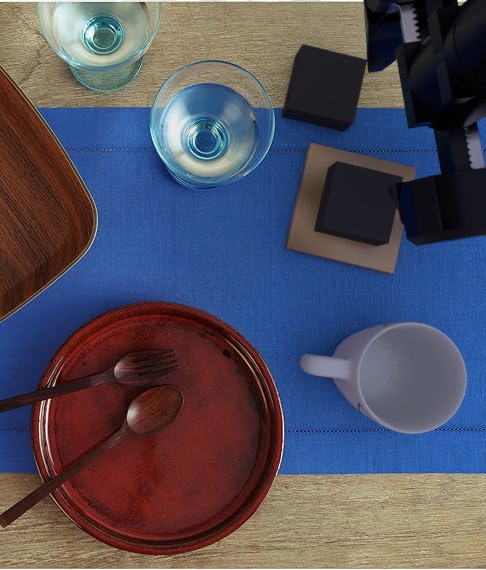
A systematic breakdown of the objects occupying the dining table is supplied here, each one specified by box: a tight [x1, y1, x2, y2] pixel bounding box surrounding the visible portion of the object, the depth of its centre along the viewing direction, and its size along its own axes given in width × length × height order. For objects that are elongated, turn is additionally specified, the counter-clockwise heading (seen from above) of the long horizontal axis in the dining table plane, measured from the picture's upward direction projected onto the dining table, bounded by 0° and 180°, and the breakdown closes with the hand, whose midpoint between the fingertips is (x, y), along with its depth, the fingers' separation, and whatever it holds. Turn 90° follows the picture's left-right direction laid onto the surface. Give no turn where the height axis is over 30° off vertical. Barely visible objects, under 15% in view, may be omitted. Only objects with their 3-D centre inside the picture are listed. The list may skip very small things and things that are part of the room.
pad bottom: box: [314, 161, 403, 246], centre depth 55 cm, size 6×6×2 cm
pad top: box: [281, 43, 367, 133], centre depth 56 cm, size 6×6×2 cm
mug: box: [299, 321, 468, 435], centre depth 51 cm, size 11×8×10 cm
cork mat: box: [283, 142, 418, 275], centre depth 57 cm, size 10×10×1 cm
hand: (384, 129), depth 47 cm, fingers open, 9 cm apart
